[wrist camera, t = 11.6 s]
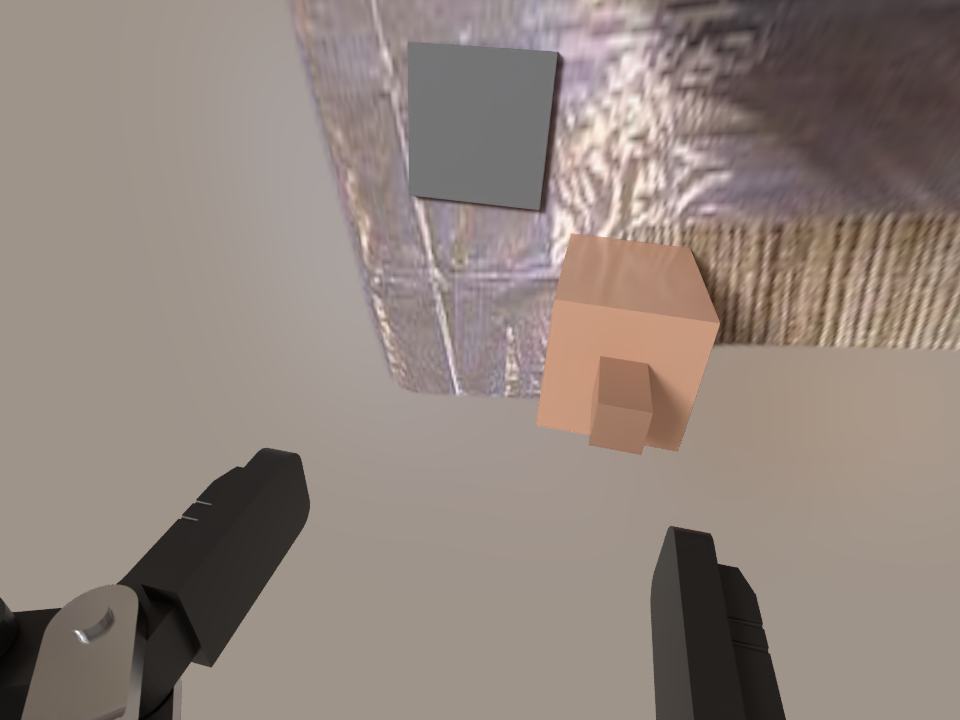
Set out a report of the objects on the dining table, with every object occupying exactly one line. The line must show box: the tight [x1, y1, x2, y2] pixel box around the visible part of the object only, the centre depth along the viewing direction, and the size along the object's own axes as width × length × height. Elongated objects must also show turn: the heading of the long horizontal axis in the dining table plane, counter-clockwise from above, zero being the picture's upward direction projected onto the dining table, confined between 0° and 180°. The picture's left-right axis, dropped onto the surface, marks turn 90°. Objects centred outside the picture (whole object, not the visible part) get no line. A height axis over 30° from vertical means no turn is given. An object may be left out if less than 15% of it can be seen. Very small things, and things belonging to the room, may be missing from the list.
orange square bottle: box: [536, 233, 720, 455], centre depth 33 cm, size 9×9×18 cm
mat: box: [408, 42, 558, 210], centre depth 37 cm, size 10×10×1 cm
